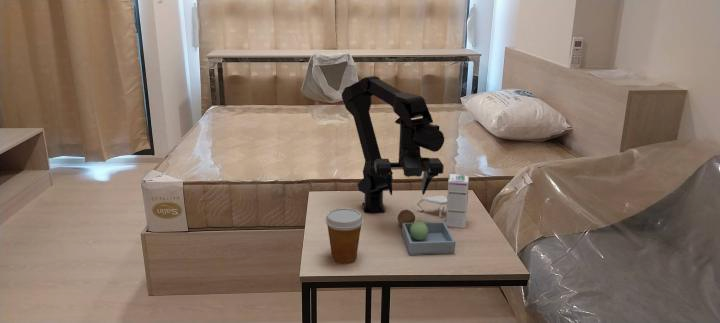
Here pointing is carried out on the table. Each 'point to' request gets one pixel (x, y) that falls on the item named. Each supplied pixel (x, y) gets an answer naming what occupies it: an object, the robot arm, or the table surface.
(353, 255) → the disposable coffee cup
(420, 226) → the green ball
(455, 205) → the syrup box
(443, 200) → the origami figure
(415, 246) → the bin
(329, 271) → the table surface
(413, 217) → the walnut ball
